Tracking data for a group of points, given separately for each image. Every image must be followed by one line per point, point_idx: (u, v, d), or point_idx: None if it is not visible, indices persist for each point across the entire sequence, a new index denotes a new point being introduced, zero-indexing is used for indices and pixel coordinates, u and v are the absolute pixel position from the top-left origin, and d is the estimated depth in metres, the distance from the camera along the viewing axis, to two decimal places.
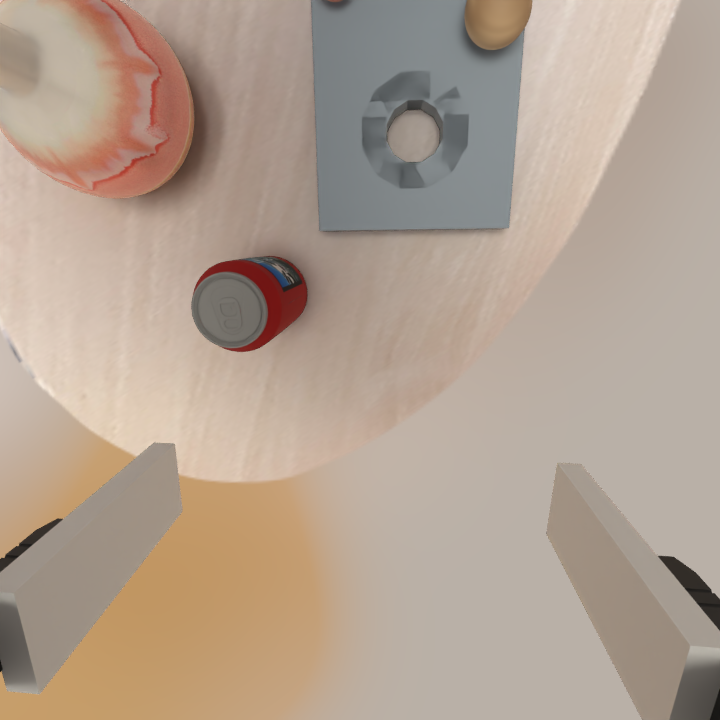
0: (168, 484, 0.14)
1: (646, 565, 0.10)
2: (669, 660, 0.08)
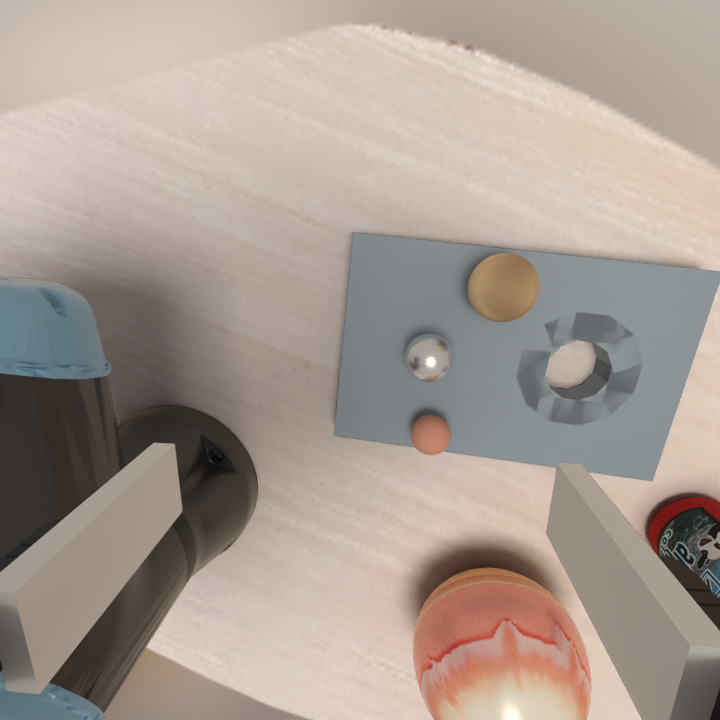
0: (168, 484, 0.14)
1: (646, 565, 0.10)
2: (669, 660, 0.08)
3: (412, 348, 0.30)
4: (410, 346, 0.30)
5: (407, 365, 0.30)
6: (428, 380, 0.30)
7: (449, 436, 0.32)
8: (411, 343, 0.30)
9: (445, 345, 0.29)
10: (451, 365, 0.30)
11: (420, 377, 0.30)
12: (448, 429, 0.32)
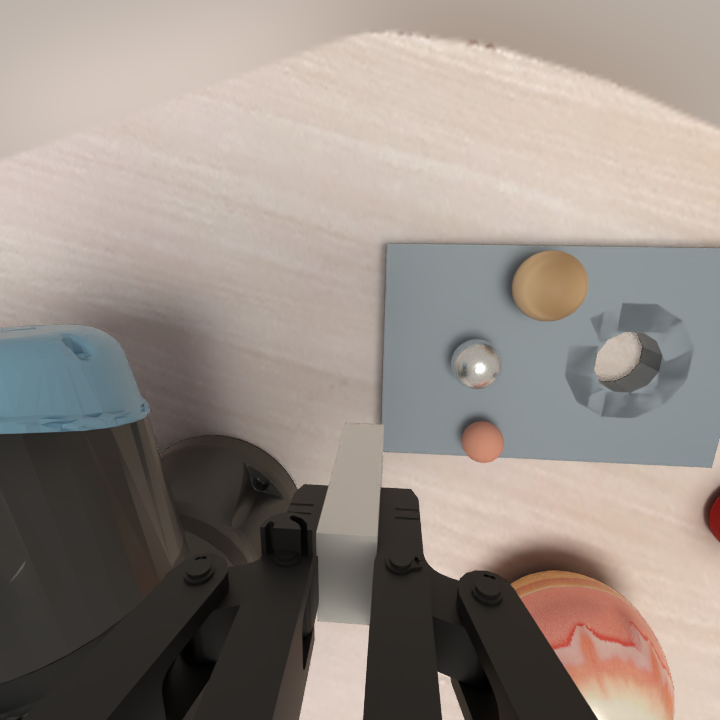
0: None
1: (365, 489, 0.12)
2: None
3: (460, 356, 0.29)
4: (457, 354, 0.29)
5: (455, 374, 0.29)
6: (479, 387, 0.29)
7: (503, 442, 0.31)
8: (458, 351, 0.29)
9: (494, 350, 0.28)
10: (501, 370, 0.29)
11: (471, 385, 0.29)
12: (501, 435, 0.31)
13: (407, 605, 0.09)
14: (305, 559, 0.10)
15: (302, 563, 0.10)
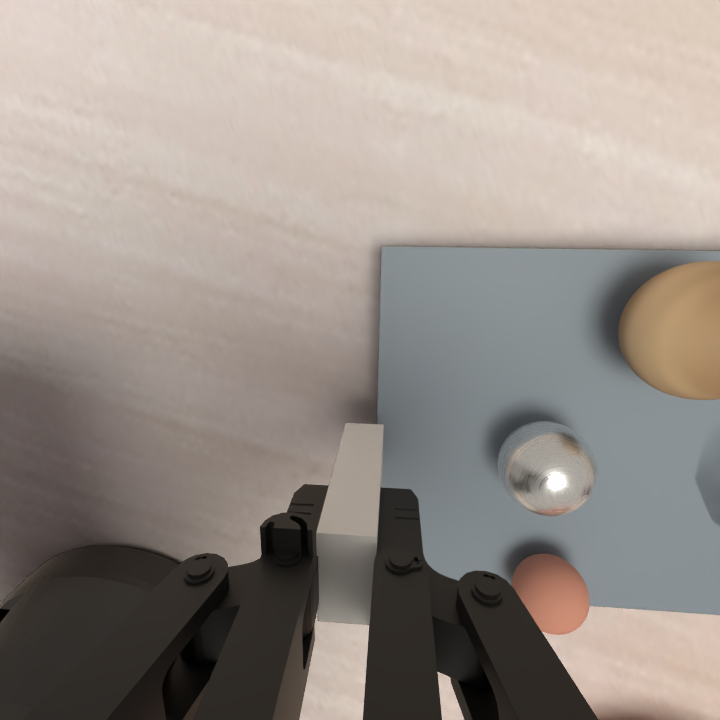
0: None
1: (365, 489, 0.12)
2: None
3: (518, 458, 0.15)
4: (512, 453, 0.16)
5: (509, 488, 0.16)
6: (554, 515, 0.15)
7: (588, 599, 0.17)
8: (513, 447, 0.16)
9: (584, 449, 0.15)
10: (596, 484, 0.15)
11: (539, 512, 0.15)
12: (585, 586, 0.17)
13: (407, 605, 0.09)
14: (305, 559, 0.10)
15: (302, 563, 0.10)
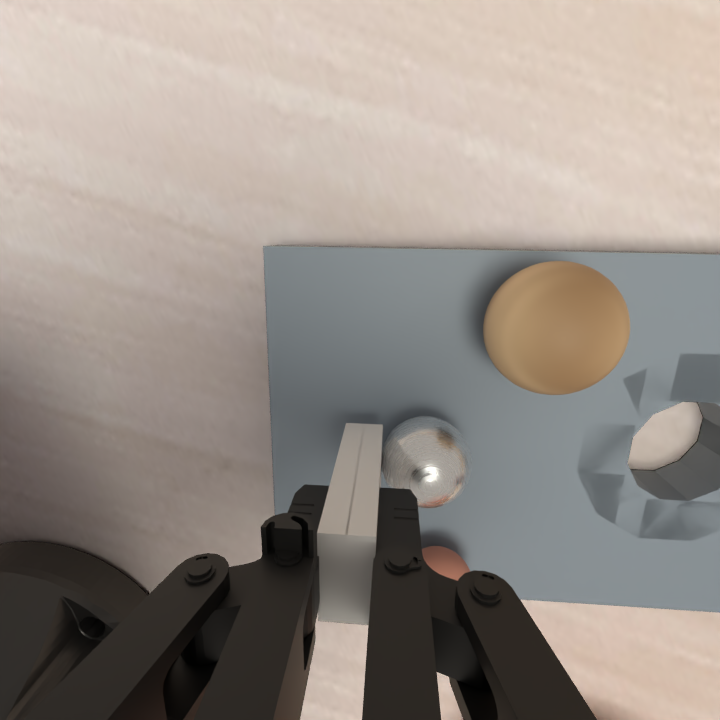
0: None
1: (364, 489, 0.12)
2: None
3: (393, 452, 0.16)
4: (389, 447, 0.16)
5: (387, 482, 0.16)
6: (429, 507, 0.16)
7: None
8: (391, 442, 0.16)
9: (454, 442, 0.16)
10: (468, 476, 0.16)
11: None
12: None
13: (406, 605, 0.09)
14: (306, 559, 0.10)
15: (303, 563, 0.10)
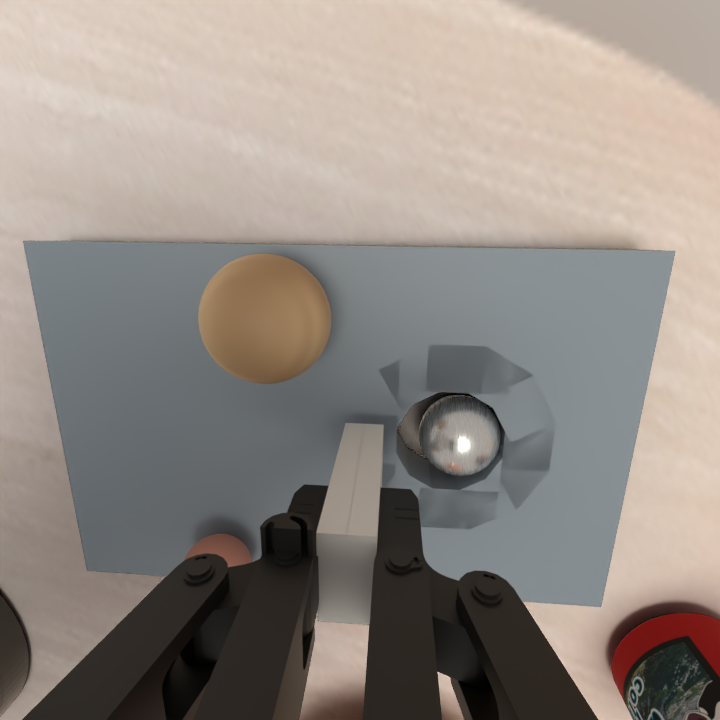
0: None
1: (365, 489, 0.12)
2: None
3: (478, 434, 0.17)
4: (471, 433, 0.17)
5: (473, 464, 0.17)
6: None
7: None
8: (468, 428, 0.17)
9: None
10: None
11: None
12: (238, 563, 0.18)
13: (407, 605, 0.09)
14: (305, 559, 0.10)
15: (302, 563, 0.10)
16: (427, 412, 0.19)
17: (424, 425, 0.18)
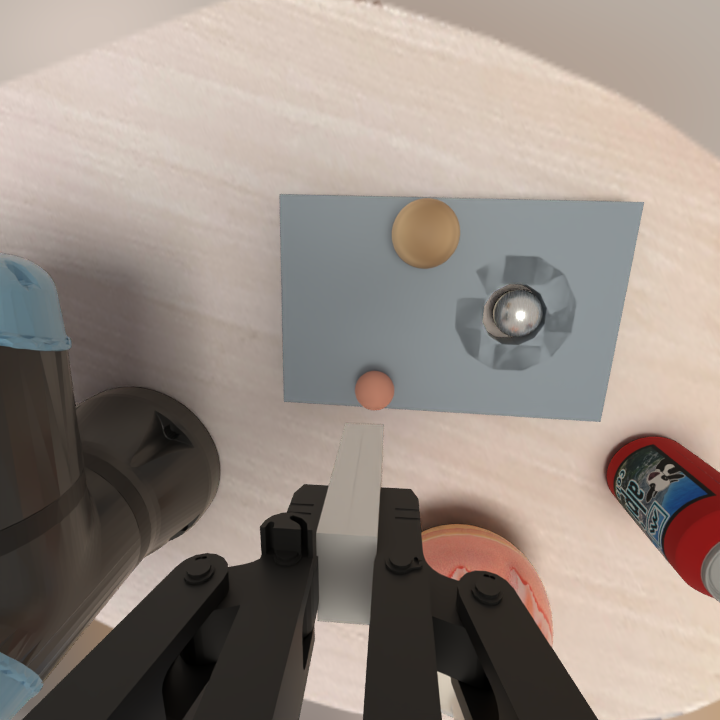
0: None
1: (365, 489, 0.12)
2: None
3: (530, 306, 0.31)
4: (526, 305, 0.30)
5: (527, 324, 0.31)
6: None
7: (391, 389, 0.32)
8: (525, 303, 0.30)
9: None
10: None
11: (533, 330, 0.32)
12: (390, 383, 0.32)
13: (407, 605, 0.09)
14: (305, 559, 0.10)
15: (302, 563, 0.10)
16: (499, 299, 0.32)
17: (497, 305, 0.32)
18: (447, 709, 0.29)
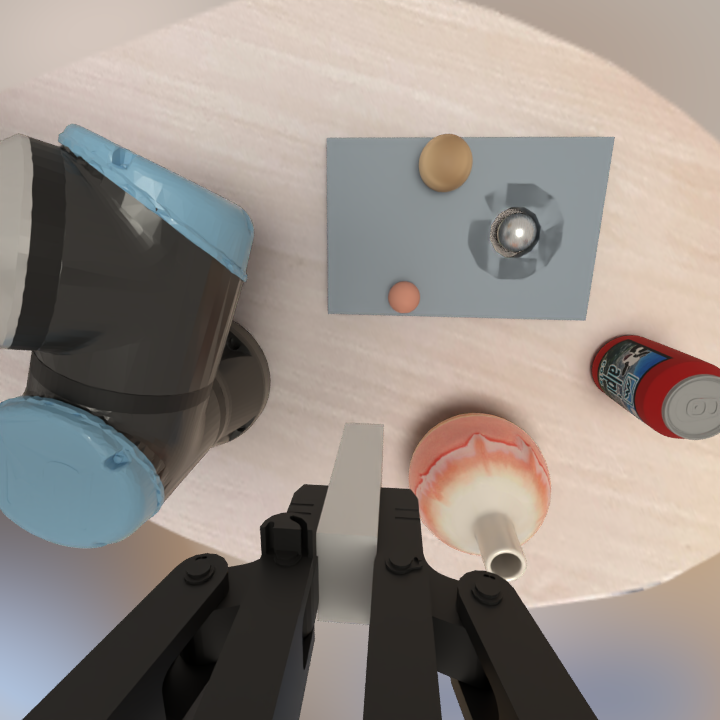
0: None
1: (365, 489, 0.12)
2: None
3: (526, 223, 0.38)
4: (523, 223, 0.38)
5: (523, 238, 0.39)
6: None
7: (418, 294, 0.40)
8: (522, 221, 0.38)
9: None
10: None
11: (529, 245, 0.40)
12: (417, 289, 0.40)
13: (407, 605, 0.09)
14: (305, 559, 0.10)
15: (302, 563, 0.10)
16: (502, 221, 0.40)
17: (500, 225, 0.40)
18: (469, 536, 0.37)
